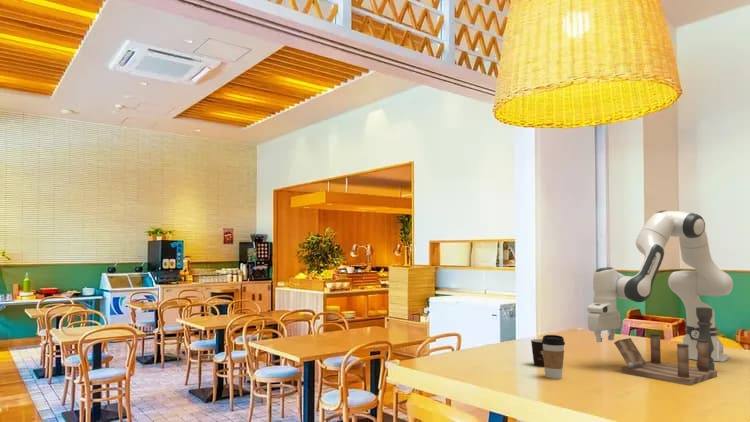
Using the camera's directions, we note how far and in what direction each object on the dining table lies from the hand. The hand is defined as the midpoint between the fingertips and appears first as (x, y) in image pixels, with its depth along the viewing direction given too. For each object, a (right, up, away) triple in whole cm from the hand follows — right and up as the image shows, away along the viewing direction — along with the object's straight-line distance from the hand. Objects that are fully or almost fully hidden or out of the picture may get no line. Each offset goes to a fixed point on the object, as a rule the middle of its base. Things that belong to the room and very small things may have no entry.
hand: (605, 341), depth 231 cm
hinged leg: (+8, -6, -10) cm, 15 cm away
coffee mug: (-24, -10, 0) cm, 26 cm away
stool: (+19, -10, -13) cm, 25 cm away
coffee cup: (-28, -9, -20) cm, 35 cm away
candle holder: (+38, -11, -6) cm, 40 cm away
